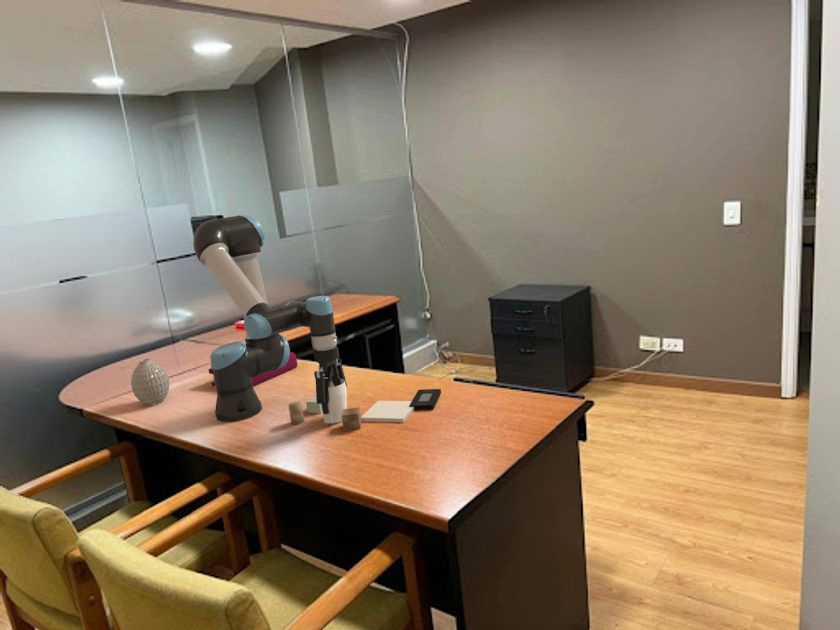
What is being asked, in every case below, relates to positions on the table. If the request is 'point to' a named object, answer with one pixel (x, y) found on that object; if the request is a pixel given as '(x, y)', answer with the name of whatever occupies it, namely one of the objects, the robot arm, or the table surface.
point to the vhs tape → (425, 399)
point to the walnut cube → (351, 419)
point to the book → (269, 375)
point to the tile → (388, 411)
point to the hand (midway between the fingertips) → (335, 416)
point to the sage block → (313, 406)
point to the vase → (150, 382)
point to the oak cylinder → (296, 413)
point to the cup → (337, 400)
